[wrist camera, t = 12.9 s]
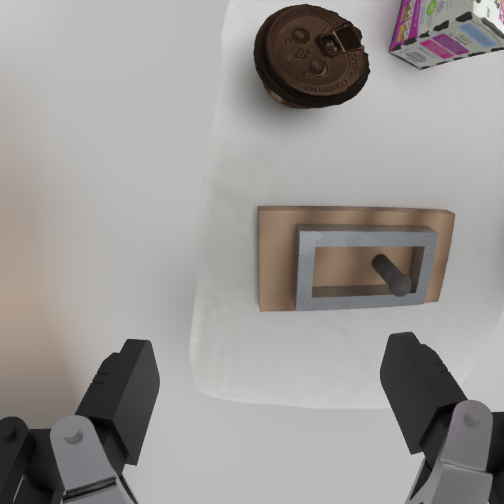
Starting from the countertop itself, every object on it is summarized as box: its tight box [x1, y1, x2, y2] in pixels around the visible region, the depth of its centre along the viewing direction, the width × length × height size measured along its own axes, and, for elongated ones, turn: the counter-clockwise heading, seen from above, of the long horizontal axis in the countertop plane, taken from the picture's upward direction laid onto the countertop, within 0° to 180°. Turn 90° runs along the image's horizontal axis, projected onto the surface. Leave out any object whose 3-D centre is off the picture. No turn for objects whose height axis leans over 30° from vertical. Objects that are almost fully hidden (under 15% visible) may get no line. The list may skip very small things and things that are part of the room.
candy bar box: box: [389, 0, 504, 70], centre depth 19 cm, size 11×5×16 cm, turn 163°
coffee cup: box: [254, 4, 370, 109], centre depth 24 cm, size 9×8×13 cm
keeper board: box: [258, 206, 455, 311], centre depth 33 cm, size 24×12×9 cm, turn 91°
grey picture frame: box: [293, 224, 439, 311], centre depth 34 cm, size 16×9×3 cm, turn 90°
